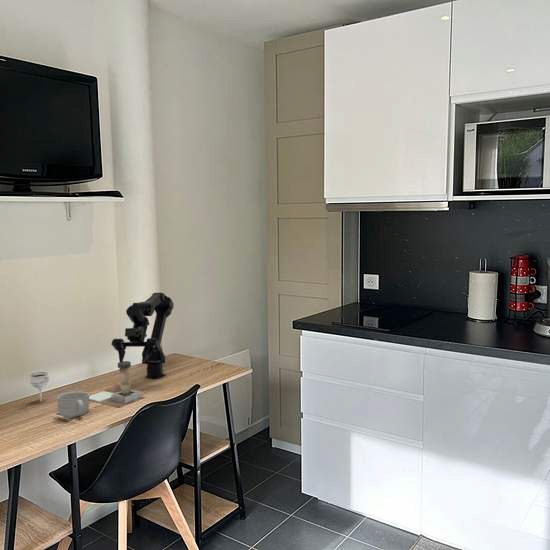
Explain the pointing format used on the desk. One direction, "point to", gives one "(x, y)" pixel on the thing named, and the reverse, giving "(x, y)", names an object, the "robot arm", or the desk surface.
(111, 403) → the board
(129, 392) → the peg
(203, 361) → the desk surface
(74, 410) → the teacup
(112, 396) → the collar
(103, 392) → the coaster
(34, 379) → the wineglass
